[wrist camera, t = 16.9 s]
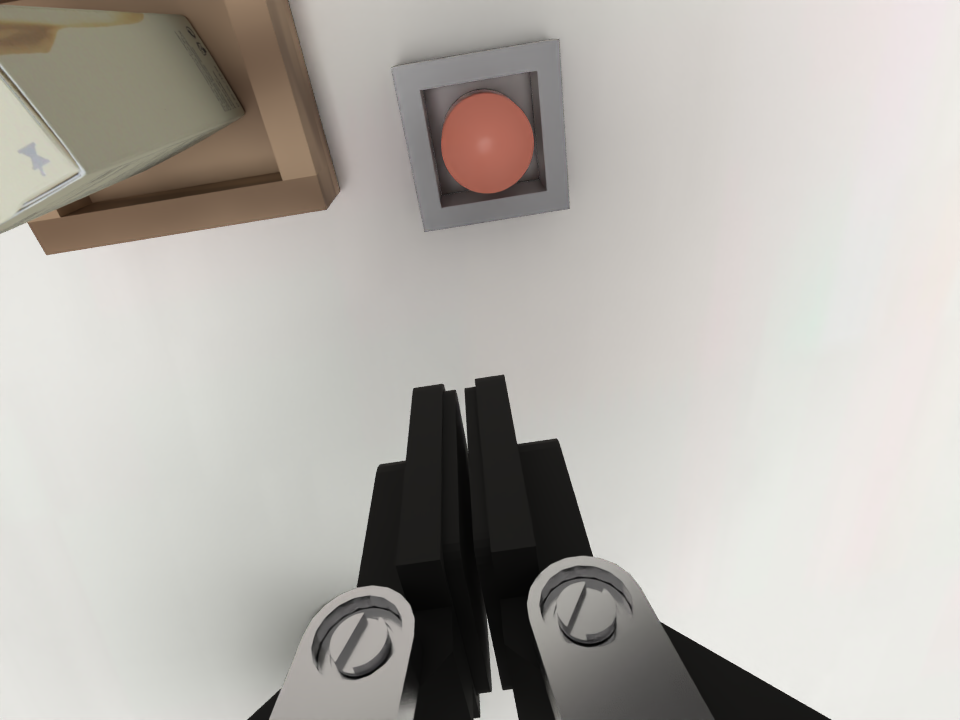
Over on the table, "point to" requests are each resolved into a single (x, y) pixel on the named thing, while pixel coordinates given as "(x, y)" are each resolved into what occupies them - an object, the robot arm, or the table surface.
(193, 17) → the tray
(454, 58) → the button housing
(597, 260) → the table surface
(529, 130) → the button
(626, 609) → the robot arm
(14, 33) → the skincare box
